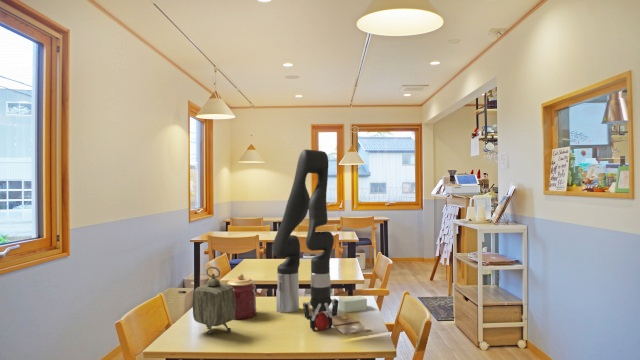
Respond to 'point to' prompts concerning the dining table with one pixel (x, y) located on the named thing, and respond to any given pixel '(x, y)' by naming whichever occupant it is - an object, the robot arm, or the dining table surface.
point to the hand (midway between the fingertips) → (321, 328)
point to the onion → (321, 321)
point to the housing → (352, 303)
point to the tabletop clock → (214, 303)
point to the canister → (244, 297)
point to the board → (348, 325)
